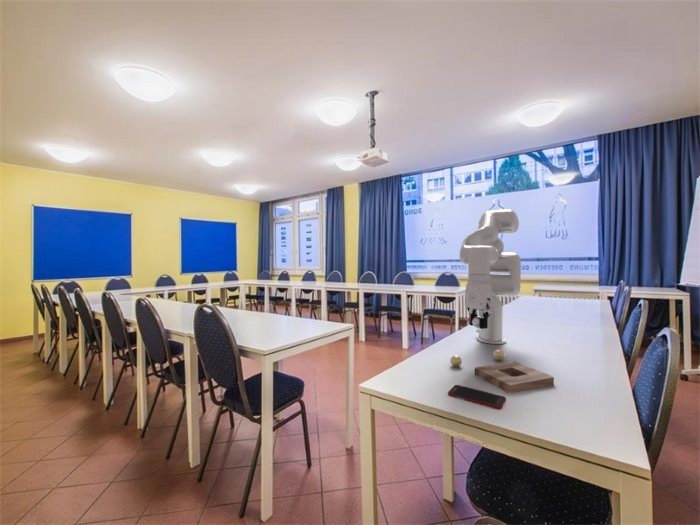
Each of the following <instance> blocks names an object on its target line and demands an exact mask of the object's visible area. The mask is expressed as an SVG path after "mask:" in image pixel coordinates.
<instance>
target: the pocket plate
mask: <svg viewBox="0 0 700 525" xmlns="http://www.w3.org/2000/svg"><path fill="white" fill-rule="evenodd" d="M474 376H476V377H478V378H480V379H482V380H484V381H486V382H488V383H489V384H491V385H493V386H495V387H497V388H498V389H501V390H502V391H504V392H506V393H509V394H513V393H514V394H515V393H519V392H525V391H528V390H529V391H531V390H534V389H539V388H540V389H541V388H544V387H551V386H554V385H555V377H554V376H552V375H550V374H548V373H545V372H542V371H540V370H537V369H535V368H532V367H530V366H527V365H525V364H522V363H520V362H518V361H510V362H509V361H508V362H502V363H496V364H490V365H483V366H476V367H474Z"/></svg>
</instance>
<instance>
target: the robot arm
mask: <svg viewBox="0 0 700 525" xmlns="http://www.w3.org/2000/svg"><path fill="white" fill-rule="evenodd" d="M519 227H520V221H519V217H518V214H517V213H516V212H515V211H514V210H513V209H498V210H487V211H485V212H484V213H482V215H481V216H480V219H479V220H478V227H477V230H475V231H473V232H472V233H470V234H468V235H467V236H466V237H465V238H464V239H463V241H462V244H461V246H460V249H459V259H460V262H461V263H462V264H464V265H467V266H468V267H467V268H468V272H467V273H468V276H467V278H468V280H467V282H466V286H465V291H464V292H465V293H464V306H465V308H466V310H467V312H468V314H469V326H471V327H472V326H473V324H472V320H473V318H474V317H476V316H479V315H478V314H477V313H478V311H479V314H480V317H481V318H480V328H477V329H476V330H475V332H476V333H478V335H477V336H476V340H477V341H478V342H481V343H484V344H490V345H503V344H506V343H507V339H506V338H505V337H503V309H504V308H503V307H504V306H503V302H502V301H501V299H500V298H499V297H498V296H511V297H514V296H518V295H519V294H520V292H521V281H522V280H521V274H522V264H521V263H522V261H521V257H520V255H519V254H518V253H516V252H504V246H505V245H504V242H503V241H502V239H501V238H500V237H499V234H513V233H516V232H517V231H518V229H519ZM491 273H498V274H491ZM500 273H501V274H500ZM473 327H474V326H473Z"/></svg>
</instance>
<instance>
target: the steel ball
mask: <svg viewBox="0 0 700 525" xmlns="http://www.w3.org/2000/svg"><path fill="white" fill-rule="evenodd" d="M480 318H481V315H478V316H476V317H474V318H473V320H472V324H473V327H474V328H475V329H478V328H480Z"/></svg>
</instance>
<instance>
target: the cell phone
mask: <svg viewBox="0 0 700 525" xmlns="http://www.w3.org/2000/svg"><path fill="white" fill-rule="evenodd" d="M447 395H448V396H449V397H453V398H456V399H461V400H464V401H467V402H470V403H474V404H478V405H481V406H485V407H488V408H492V409H496V410H502V409H503V406H504V404H505V403H506V400H507V399H506V398H507V397H506V396H504V395H500V394H495V393H493V392H492V393H491V392H487V391H484V390H481V389H476V388H471V387H469V386H464V385H459V384H455V385H453V387H452V388H451V389H450V390H448V392H447Z"/></svg>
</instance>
